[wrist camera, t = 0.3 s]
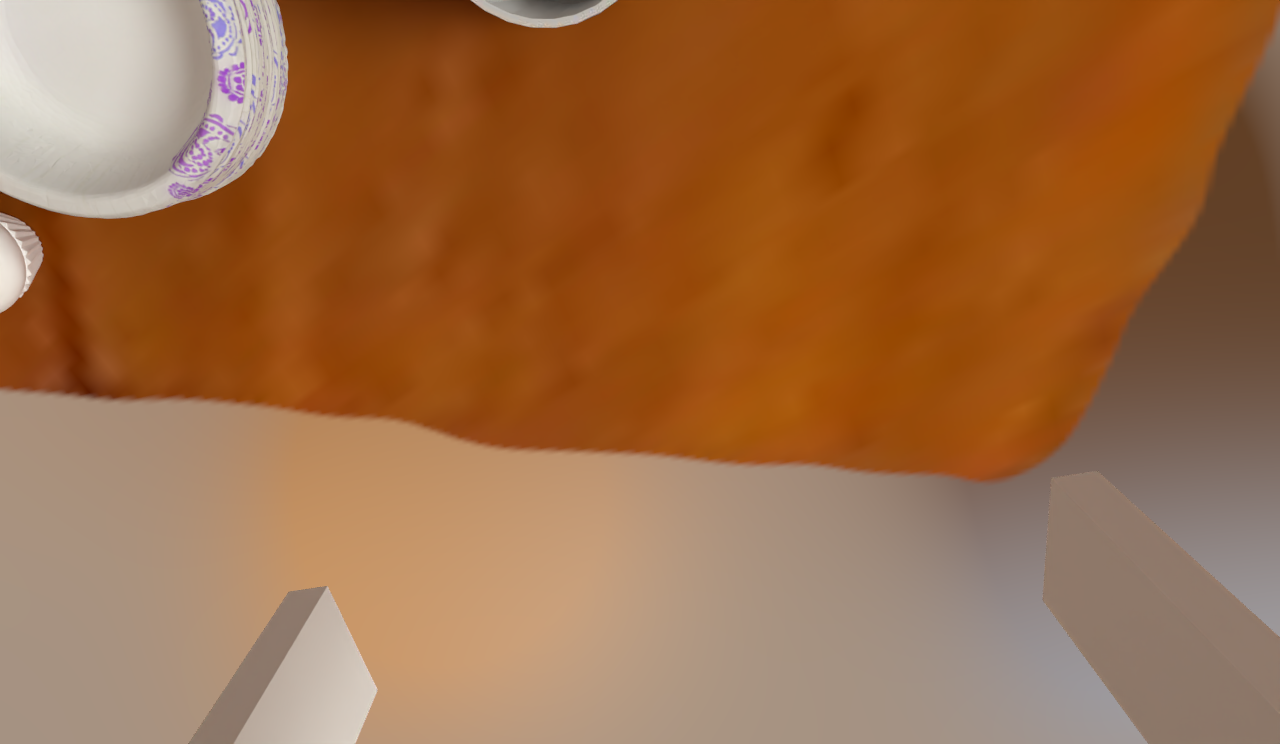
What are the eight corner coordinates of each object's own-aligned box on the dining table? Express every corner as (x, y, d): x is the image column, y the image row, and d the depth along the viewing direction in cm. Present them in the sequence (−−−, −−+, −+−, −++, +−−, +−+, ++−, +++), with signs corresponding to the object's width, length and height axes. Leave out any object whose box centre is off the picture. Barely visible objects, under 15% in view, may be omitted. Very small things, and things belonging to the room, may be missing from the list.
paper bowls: (342, 193, 37) (269, 223, 30) (58, 190, 37) (-85, 219, 30) (287, -153, 31) (178, -222, 24) (-54, -158, 31) (-268, -228, 24)
